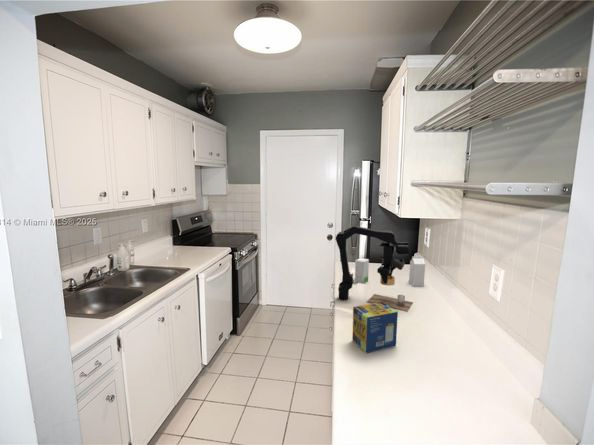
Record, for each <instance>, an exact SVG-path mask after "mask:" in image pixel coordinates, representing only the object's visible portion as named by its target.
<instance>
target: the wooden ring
mask: <svg viewBox="0 0 594 445" xmlns="http://www.w3.org/2000/svg"><path fill="white" fill-rule="evenodd" d="M395 280H396V278H395V276H394V275H392V276H391V275H388V280H387V284H384V282H383V279H382V277H381V276H380V284H381V285H383V286H390V287H391V286H394V285H395V284H396V283H395Z"/></svg>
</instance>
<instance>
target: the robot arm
mask: <svg viewBox="0 0 594 445" xmlns="http://www.w3.org/2000/svg"><path fill="white" fill-rule="evenodd" d="M354 235H360V236H366V237H371V238H375V239H378V240H379V241H381V242H380V243H379V246H380V247H382V255H381V259H382V263H381V265H380V266H379V267H378V268H377V270H376V272H377V274H379V276H380V278H381V277H382V279H383V282H384V284H387V280H388V275H391V276H393V275H392V274H393V272H394V270H396V269H398V270H400V271H402V270H403V269H404V266H405V265H406V263H405V261H404V260H405V259H404V258H399V259H398V258H396V256H395V255H394V254H395V253H396V255H398V256H399V255H402V256H403V255H404V256H405V255H406V256H408V255H409V254H410V249H409V248H410V247H409V241H404V242H402V241H397V239H396V238H395V234H394V232H393V231H392V230H384V229H382V230H380V229H379V230H376V229H372V228H368V227H367V228H366V227H363V226H362V227H361V226H357V225H355V224H353V225H352V226H351V227H349V228H347V229H345V230H343V231H338V233H337V234H336V236H335V241H336V244H337V247H338V250H339V255H340V256H339V258H340V263H341V271H342V278H341V282H340V283H338V289H337V290H338V297H337V299H336V301H337V300H340V301H347V300H349V295H350V294H349V293H350V290H351V289H352V288H353V285H354V283H355V278H354V274H353V273H351V271H350V267H349V266H350V265H349V260H348V252H347V250H348V249H347V241H348V239H349V238H351V237H352V236H354ZM394 252H395V253H394Z"/></svg>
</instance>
